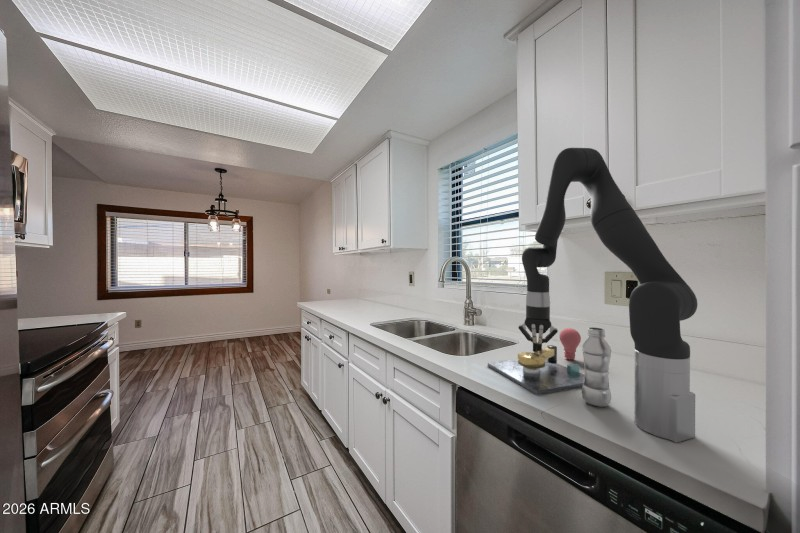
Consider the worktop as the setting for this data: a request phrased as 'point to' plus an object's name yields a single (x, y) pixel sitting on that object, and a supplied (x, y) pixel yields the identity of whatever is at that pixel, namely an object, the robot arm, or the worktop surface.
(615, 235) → the robot arm
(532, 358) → the gold long piece
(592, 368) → the plastic bottle
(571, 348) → the light bulb
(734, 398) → the worktop surface
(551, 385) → the base
